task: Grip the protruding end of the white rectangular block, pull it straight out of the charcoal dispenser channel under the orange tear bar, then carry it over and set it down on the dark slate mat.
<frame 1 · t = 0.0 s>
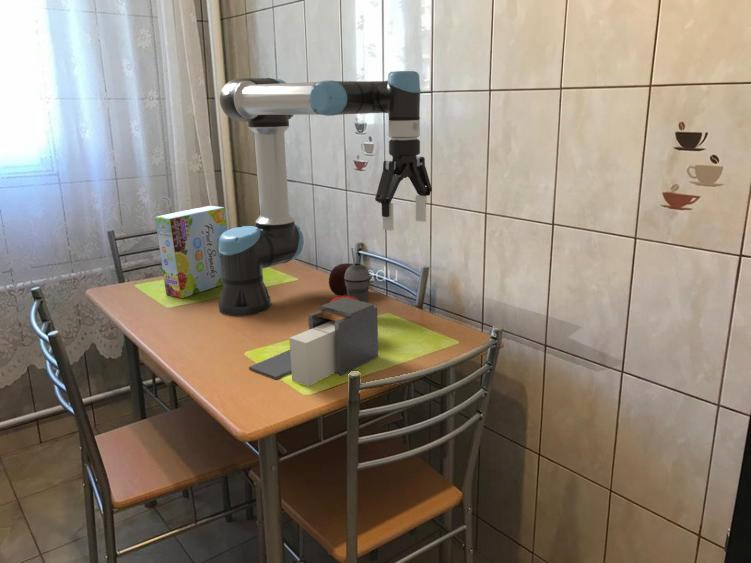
hand: (404, 225, 157), 28 cm above the table, fingers open, 13 cm apart
potato: (348, 296, 194), on the table
mat: (288, 362, 146), on the table
apple: (345, 338, 160), on the table
beverage cup: (358, 318, 174), on the table
dispenser: (331, 367, 142), on the table
white rectangular block: (322, 372, 140), on the table
snack box: (199, 289, 205), on the table
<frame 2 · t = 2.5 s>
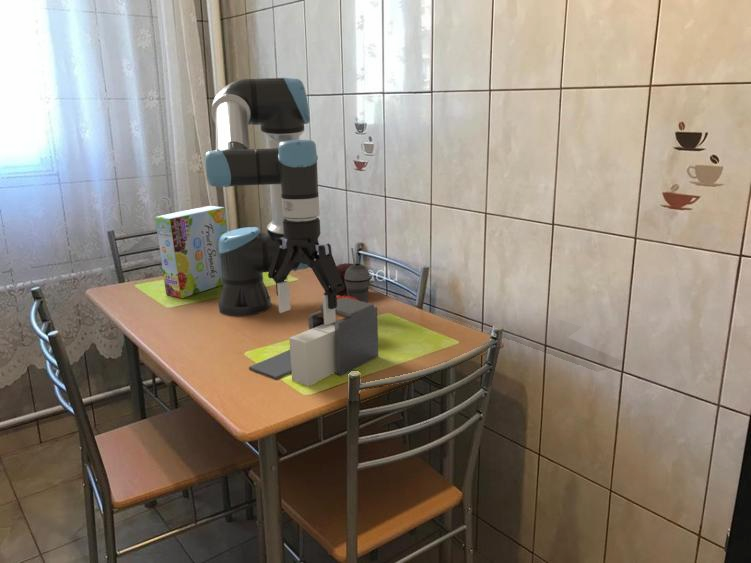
hand: (306, 316, 133), 14 cm above the table, fingers open, 13 cm apart
nothing on the table moved.
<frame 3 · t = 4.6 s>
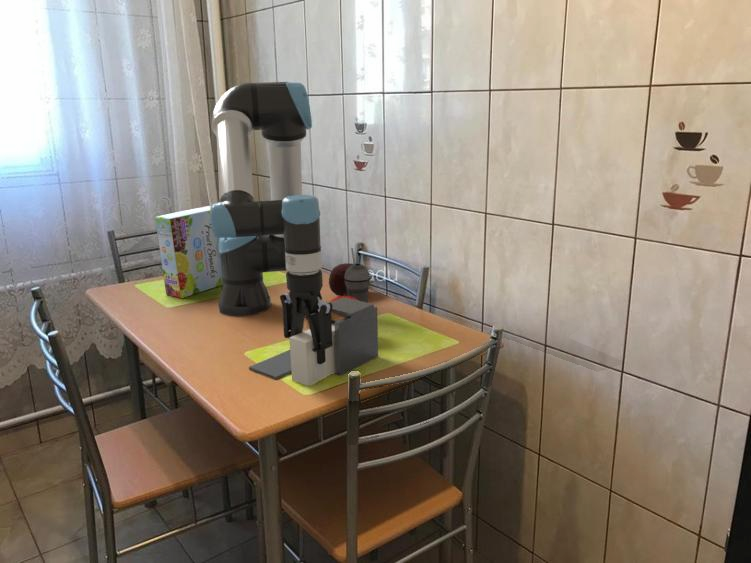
hand: (309, 372, 137), 1 cm above the table, fingers closed on white rectangular block, 5 cm apart
white rectangular block: (322, 372, 140), on the table, touching gripper
everything else where it was.
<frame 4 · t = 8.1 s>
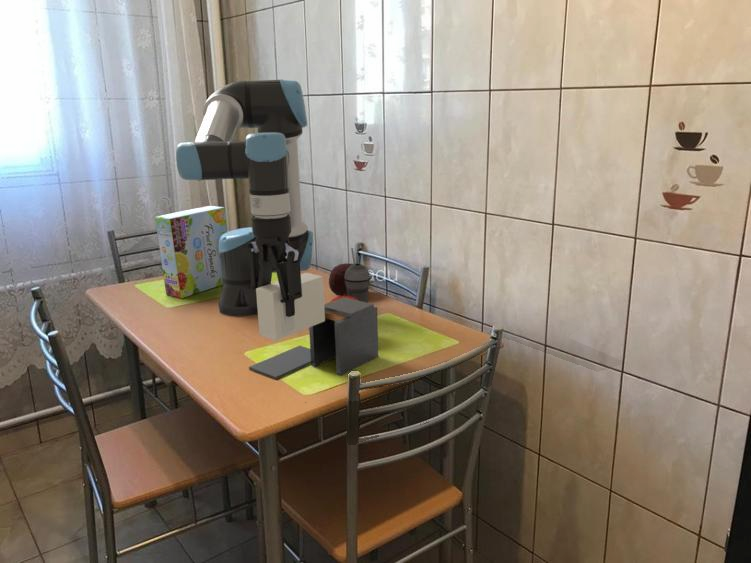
hand: (278, 327, 127), 14 cm above the table, fingers closed on white rectangular block, 5 cm apart
white rectangular block: (293, 327, 131), point 13 cm above the table, touching gripper
everything else where it was.
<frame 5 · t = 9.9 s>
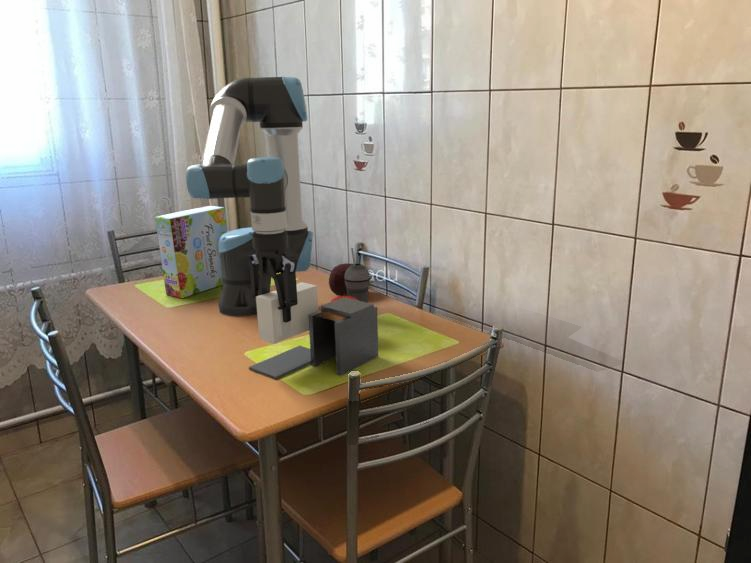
hand: (276, 332, 141), 9 cm above the table, fingers closed on white rectangular block, 5 cm apart
white rectangular block: (289, 332, 144), point 7 cm above the table, touching gripper
everything else where it was.
when the fingers open (3 cm above the table, at t = 11.4 s): white rectangular block stays where it is, resting on mat.
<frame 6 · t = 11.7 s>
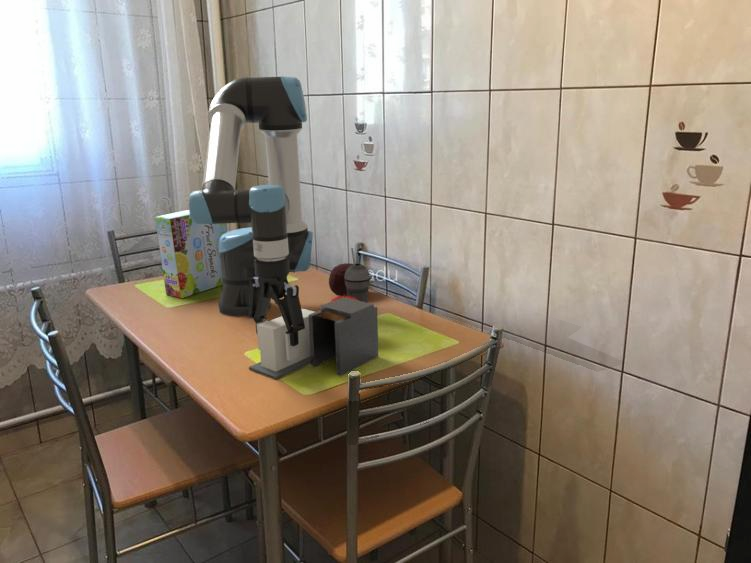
hand: (278, 353, 142), 3 cm above the table, fingers open, 9 cm apart
white rectangular block: (291, 358, 146), point 1 cm above the table, touching mat
everything else where it was.
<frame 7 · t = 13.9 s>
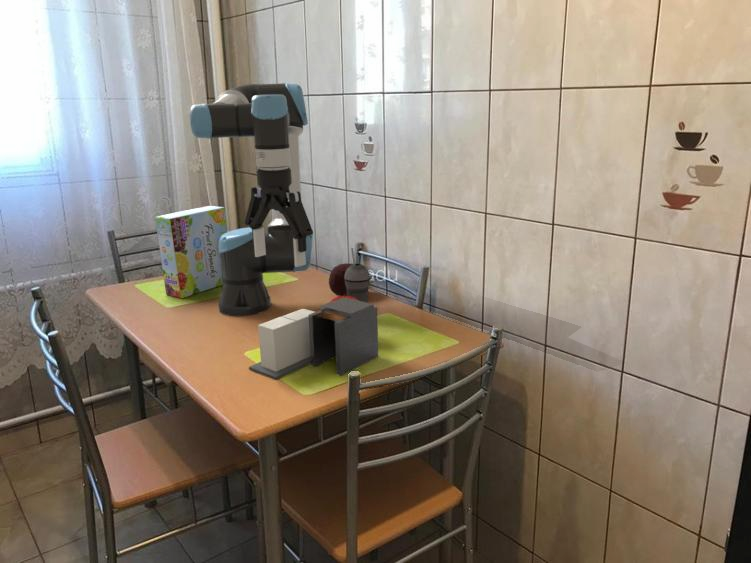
hand: (279, 260, 144), 23 cm above the table, fingers open, 13 cm apart
nothing on the table moved.
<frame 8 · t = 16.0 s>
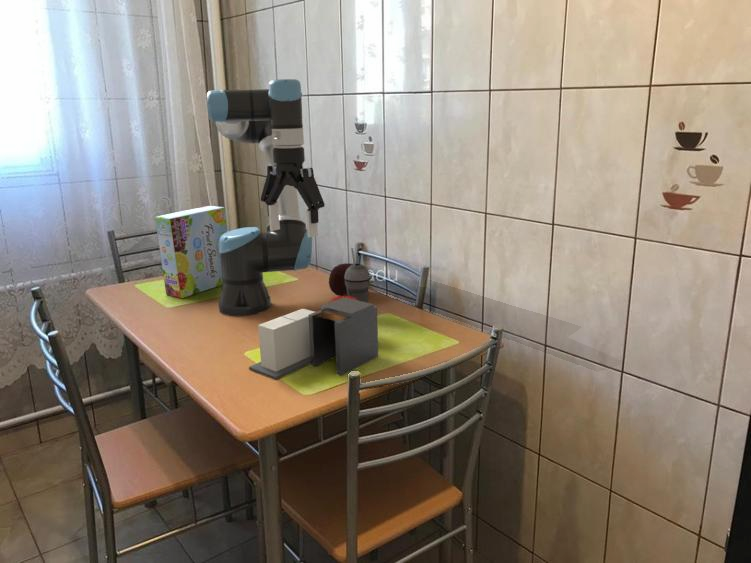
hand: (293, 233, 157), 27 cm above the table, fingers open, 13 cm apart
nothing on the table moved.
at the end: white rectangular block inside the target area on the mat (1.0 cm from its centre), point 0.6 cm above the mat's base; white rectangular block touching mat; the gripper is holding nothing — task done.
